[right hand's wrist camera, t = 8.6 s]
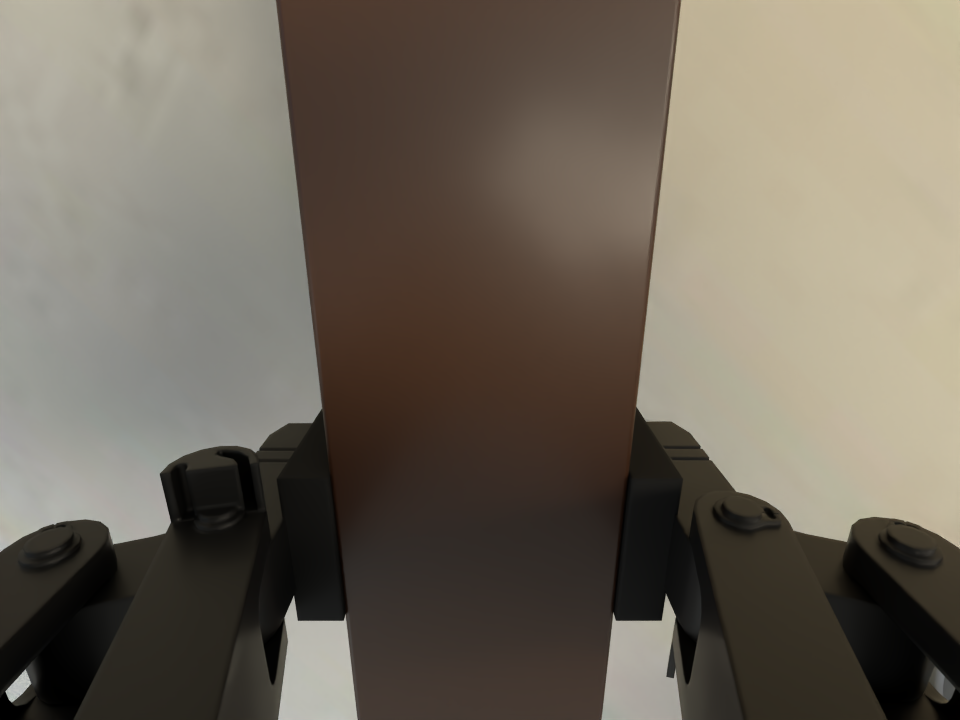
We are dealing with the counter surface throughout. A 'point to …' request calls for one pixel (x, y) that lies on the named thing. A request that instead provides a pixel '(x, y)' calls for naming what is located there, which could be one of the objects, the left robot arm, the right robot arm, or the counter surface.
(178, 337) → the counter surface
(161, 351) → the counter surface
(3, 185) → the counter surface
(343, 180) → the rail
